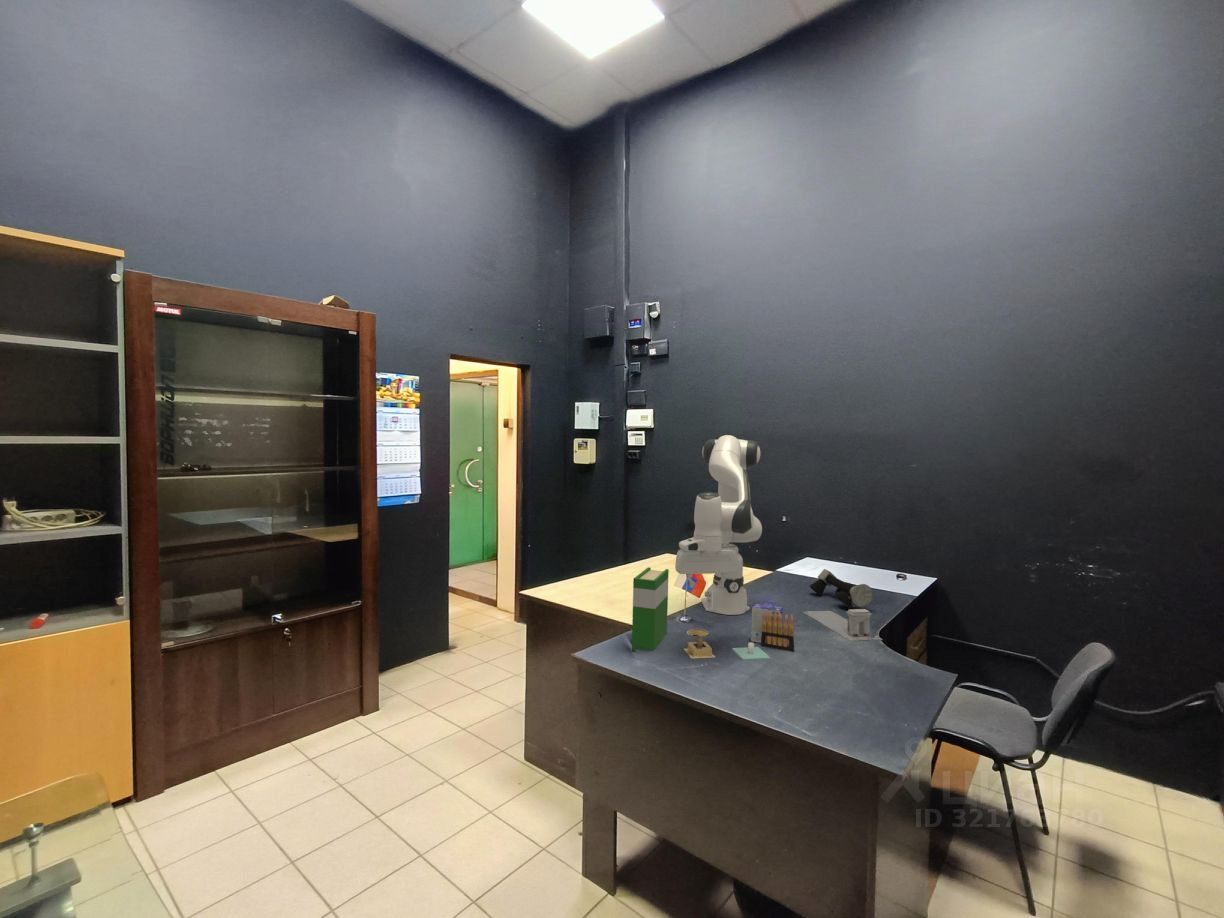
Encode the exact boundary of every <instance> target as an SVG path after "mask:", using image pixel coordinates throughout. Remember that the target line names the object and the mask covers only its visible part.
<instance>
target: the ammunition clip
mask: <svg viewBox="0 0 1224 918" xmlns="http://www.w3.org/2000/svg"><path fill="white" fill-rule="evenodd" d="M783 619H784V621H783ZM794 621H795V619H794V615H793V614H791V616H790V619H789V616H788V614H787V613H786V614H785V616H784V617H783V618H782V614H781V613H780V616H779V624H777V614H776V612H775V614H774V621H773V631H772V614H771V612H770V613H769V616H768V624H767V616H766V611H764V614H763V622H762V636H761V643H760V647H763V648H769V649H774V650H775V649H776V650H780V651H787V652H792V653H794V652H795V622H794ZM777 637H778V641H777Z"/></svg>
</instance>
